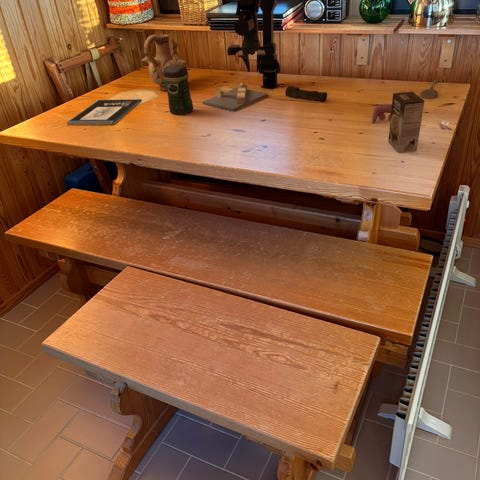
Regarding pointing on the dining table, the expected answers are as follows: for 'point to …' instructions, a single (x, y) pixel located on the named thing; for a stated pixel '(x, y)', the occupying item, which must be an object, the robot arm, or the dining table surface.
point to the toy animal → (381, 112)
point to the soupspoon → (429, 92)
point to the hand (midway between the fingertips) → (253, 71)
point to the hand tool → (305, 94)
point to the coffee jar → (178, 89)
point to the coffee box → (405, 121)
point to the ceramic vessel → (161, 58)
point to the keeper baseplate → (233, 98)
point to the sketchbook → (104, 112)
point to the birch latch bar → (241, 94)
